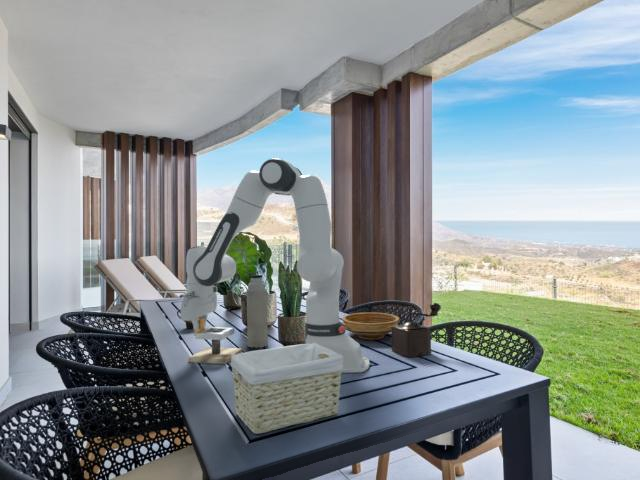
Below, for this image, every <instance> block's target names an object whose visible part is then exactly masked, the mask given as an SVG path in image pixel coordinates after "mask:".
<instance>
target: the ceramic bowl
mask: <svg viewBox="0 0 640 480" xmlns="http://www.w3.org/2000/svg"><path fill="white" fill-rule="evenodd" d="M341 320H342V323H343V324H344V323H345V330H347V331H349V332H351V333H352V334H355V335H357V337H358V338H359V339H362V340H363V339H364V340H380V339H383V338H384V337H385V336H386V335H387V334H390V333H392V326H397V325H399V320H400V317H399V316H397V315H395V314H391V313H385V312H355V313H350V314H346V315H344V316H342V317H341Z"/></svg>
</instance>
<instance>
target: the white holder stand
mask: <svg viewBox="0 0 640 480" xmlns="http://www.w3.org/2000/svg"><path fill="white" fill-rule="evenodd" d="M198 324H200V329H198V330H194V329H193V330H194V337H195V339H196V340H210V341H212V340H220V341H223V340H225V339H226V338H228V337H230V336H232V335H233V334H235V328H234V327H223V326H221V327H220V326H207V327H206V326H205V325H204V318H199V320H198ZM205 327H206V328H205ZM215 329H217V330H219V331H220V333H215V332H212V331H213V330H215Z"/></svg>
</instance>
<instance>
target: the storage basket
mask: <svg viewBox="0 0 640 480" xmlns="http://www.w3.org/2000/svg"><path fill="white" fill-rule="evenodd" d="M319 357H321V359H319ZM230 366H231V371H232V379H233V389H234V390H233V391H234V402H235V413H236V415H237V416H238V418H240V419H241V421H242V422H243V424H244V425H245V426H247V428H248V429H249V430H250V431H251V432H252V433H253V434H256V435H258V434H259V435H260V434H264V433H268V432H272V431H275V430H278V429H283V428H287V427H289V426H294V425H299V424H305V423H310V422H313V421H315V420H319V419H321V418H328V417H330V416H334V415H337V414H338V412H339V402H340V393H341V392H340V390H341V380H342V370H343V356H342V355H341V354H338V353H336V352H334V351H332V350H330V349H328V348H325V347H323V346H321V345H318V344H316V343H312V344H306V343H301V344H294V345H286V346H285V345H284V346H279V347H272V348H266V349H257V350H250V351H245V352H242V353H240V354H236V355H235V354H234V355H232V356H231V361H230Z"/></svg>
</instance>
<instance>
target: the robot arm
mask: <svg viewBox="0 0 640 480" xmlns="http://www.w3.org/2000/svg"><path fill="white" fill-rule="evenodd" d="M272 194H274V195H281V196H290V197H292V200H293V204H294V209H295V215H296V222H297V228H298V235H299V239H298V240H299V241H298V243H299V244H298V245H299V248H298V249H299V250H298V251H299V252H298V259H297V263H296V271H297V273H298V275H299V277H300V278H301V279H302V280H305V281H306V282H308V283H309V288H308V293H307V296H306V298H305V309H306V310H305V312H306V313H305V318H306V319H305V321H306V322H305V323H304V336H305V344H312V343H316V344H318V345H321V346H323V347H325V348H328V349H330V350H332V351H334V352H336V353H338V354H341V355H342V356H343V370H342V373H344V374H346V373H363V372H366V371H367V370H368V369H369V368H370V359H369V358H367V357H365V356H364V354H363V350H362V349H363V348H362V346H361V345H360V343H359V342H357V341H356V340H355V339H354V338H352V337H351V336H349V335H348V334H347V333H346V328H345V323H343V322H341V321H340V293H341V292H340V290H341V283H342V277H343V268H344V264H345V262H344V257H343V255H342V254H341V253H340V252H339V251H338V250H337V249H335V248H334V247H333V248H332V247H331V243H332V242H331V234H332V227H333V226H332V222H331V216H330V211H329V206H328V201H327V196H326V193H325V189H324V187H323V184H322V182H321V180H320V178H319V177H318V176H315V175H312V174H306V175H303V174H302V171H300V169H299V168H298V167H296V166H294V165H293V164H292V163H290V161H289V162H288V161H286V160H283V159H282V158H277V157H276V158H275V157H274V158H270V159H267V160H265V161H264V162H263V163H262V165H261V166H260V169H259V170H250V171H248V172H246V173H245V175H244V176H243V178H242V179H241V181H240V182H239V184H238V186H237V188H236V190H235V192H234V195H233V196H232V200H231V202H230V203H229V206H228V208H227V210H226V211H225V214H224V215H223V217H222V219H221V220H220V222H219V224H218V225H217V227H216V229H215V231H214V233H213V235H212V237H211V238H210V240H209V242H208V245H206V244H205V245H198V246H192V247H190V248H189V249H188V251H187V252H186V258H185V263H186V264H185V269H186V270H185V273H186V275H187V277H186V293H185V295H184V297H183V299H182V300H181V305H180V310H181V311H180V317H181V319H180V320H181V321H183V320H184V321H183V322H185V321H190V320H191V321H192V323H193V329H192V330H198V329H200V324H198V320H199V317H201V318H204V325H205V327H206V326H207V324H206V323H207V319H208V315H209V314H210V313H213V312H216V310H217V307H218V305H217V304H218V302H217V301H218V299H217V298H218V295H217V293H218V290H219V289H218V286H216V284H220V283H222V282H223V283H224V282H226V281H229V280H231V279H232V278H234V276H235V275H236V273H237V269H238V267H237V266H238V265H237V262H236V261H235V259H234V258H233V257H232V256H230V255H227V251H228V250H229V247H230V245H231V244H232V242H233V240H234V238H235V237H236V236H237V235H238V234H239V233H241V232H242V231H243V230H245V229H247V228H250V227H252V226H253V225H254V224H256V222H257V221H258V220H259V218H260V216H261V214H262V212H263V209H264V207H265V205H266V202H267V201H268V199H269V197H270V196H271V195H272ZM319 359H321V357H319Z"/></svg>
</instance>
